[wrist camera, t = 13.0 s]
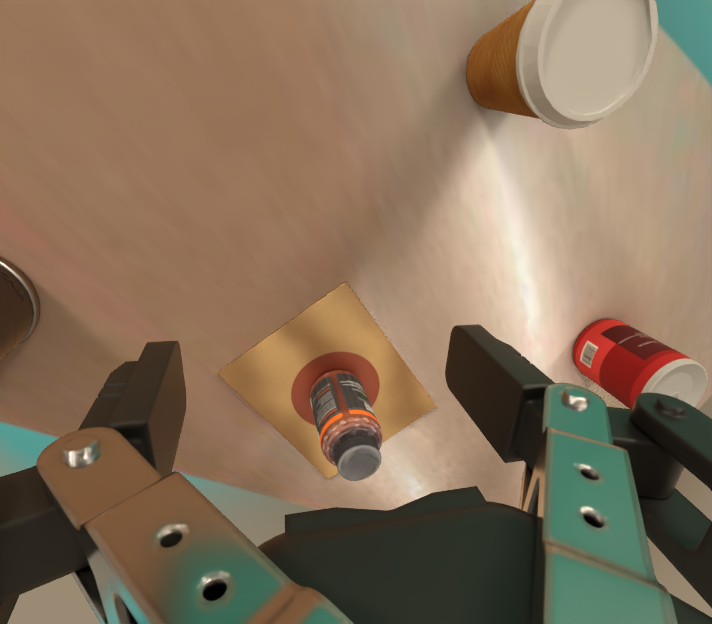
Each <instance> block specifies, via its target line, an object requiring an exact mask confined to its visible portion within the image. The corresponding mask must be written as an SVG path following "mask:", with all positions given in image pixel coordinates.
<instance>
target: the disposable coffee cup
mask: <svg viewBox="0 0 712 624" xmlns="http://www.w3.org/2000/svg"><path fill="white" fill-rule="evenodd" d="M657 35H658V15H657V6H656V2H655V0H533V1H531V2H530V3H528V4H527V5H526V6H524V7H523V8H522V9H520V10H519V11H518V12H516V13H515V14H513V15H512V16H510V17H509V18H508V19H506V20H505V21H503V22H502V23H501V24H499V25H498V26H496V27H495V28H494V29H492V30H491V31H489V32H488V33H486V34H485V35H483V36H482V37H481V38H480V39H479V40H478V41H477V43H476V44H475V46H474V47H473V49H472V51H471V54H470V56H469V60H468V64H467V70H466V75H467V84H468V88H469V91H470V93H471V95H472V96H473V98H474V99H475V101H476V102H477V103H479V104H480V105H481V106H483V107H485V108H488V109H493V110H498V111H503V112H508V113H513V114H518V115H524V116H529V117H534V118H539V119H541V120H542V121H543V122H545V123H547V124H549V125H551V126H553V127H557V128H562V129H576V128H583V127H586V126H589V125H591V124H593V123H596V122H597V121H599V120H601V119H602V118H604V117H605V116H608V115H609V114H611V113H612V112H613V111H615V110H616V109H618V108H619V107H621V106H622V105H623V104H624V103H625V102H626V101H627V100H628V99H629V98H630V97H631V95H632V94H633V93H634V92H635V91H636V90H637V88H638V87H639V85H640V83H641V82H642V80H643V78H644V77H645V75H646V73H647V71H648V68H649V66H650V63H651V61H652V58H653V54H654V49H655V45H656V40H657Z"/></svg>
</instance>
